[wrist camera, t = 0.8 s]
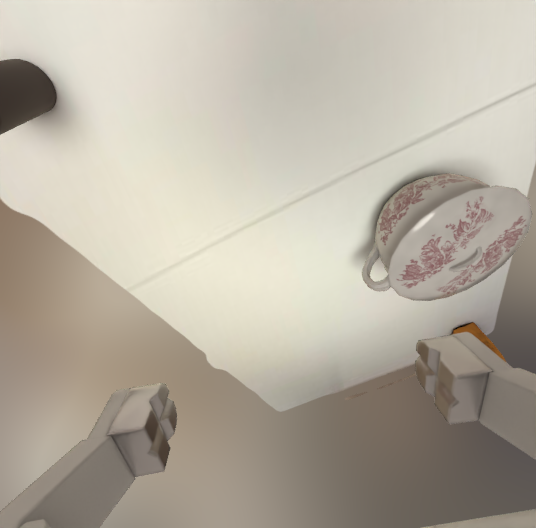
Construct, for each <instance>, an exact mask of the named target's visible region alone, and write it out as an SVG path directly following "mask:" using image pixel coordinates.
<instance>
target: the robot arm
mask: <svg viewBox="0 0 536 528" xmlns="http://www.w3.org/2000/svg"><path fill="white" fill-rule="evenodd" d="M416 351H417V352H418V353H419V355H420V356H419V357H418V359H417V360H416V361H415V371H416V375H417V379H418V381H419V382H420V385H421V386H422V388H423V389H424V391H425V392H426V393H428V394H430V395H432V396H434V397H435V403H434V404H435V406H436V407H437V409H438V410H439V411H440V413H441V414H442V415H443V417H444V418H445V420H446V421H447V422H448V424H455V423H463V422H469V421H478V420H479V422H480V423H481V424H483V425H484V426H486V427H487V428H489V429H490V430H492V431H493V432H495V433H496V434H498V435H499V436H501V437H502V438H504V439H505V440H507V441H509V442H510V443H511V444H513V445H515V446H516V447H517V448H519V449H520V450H522V451H523V452H525V453H526V454H528V455H529V456H531V457H532V458H534V459H536V374H533V373H531V372H528V371H526V370H523V369H520V368H515V369H513V368H512V367H511V366H510V365H509V364H507V363H506V362H505V361H504V360H503V359H501V358H500V357H499V356H498V355H497V354H495V353H494V352H493V351H492V350H491V349H489V348H488V347H487V346H486V345H485V344H483V343H482V342H481V341H480V340H479V339H477V338H476V337H475V336H474V335H473V334H471V333H469V332H463V333H457V334H452V335H447V336H441V337H435V338H430V339H424V340H419V341H418V343H417V346H416ZM168 394H169V390H168V388H167V385H166V384H163V383H160V384H153V385H147V386H139V387H133V388H128V389H120V390H116V391H115V392H114V393H113V394H112V395H111V397H110V399H109V401H108V403H107V404H106V406H105V408H104V410H103V411H102V413H101V415H100V417H99V419H98V420H97V422H96V424H95V426H94V428H93V429H92V431H91V433H90V435H89V436H88V438H87V440H82V441H80V442H79V443H78V444H77V445H76V446H75V447H73V448H72V449H71V450H70V451H69V452H68V453H67V454H65V455H64V456H63V457H62V458H61V459H60V460H59V461H57V462H56V463H55V464H54V465H53V466H52V467H50V468H49V469H48V470H47V471H46V472H45V473H44V474H42V475H41V476H40V477H39V478H38V479H37V480H36V481H34V482H33V483H32V484H31V485H30V486H29V487H28V488H26V490H24V491H23V492H22V493H21V494H19V495H18V496H17V497H16V498H15V499H14V500H13V501H11V502H10V503H9V504H8V505H7V506H6V507H5V508H3V509H2V510H1V511H0V528H99V527H100V526H101V525H102V523H103V522H104V520H105V519H106V518H107V517H108V515H109V514H110V512H111V511H112V510H113V508H114V507H115V506H116V504H117V503H118V502H119V500H120V499H121V498H122V496H123V495H124V494H125V492H126V491H127V490H128V488H129V487H130V485H131V484H132V483H133V481H134V480H135V477H138V476H143V475H148V474H153V473H158V472H163V471H164V470H165V466H166V463H167V459H168V455H169V451H170V446H169V444H168V440H169V439H170V438H171V437H172V435H173V434H174V432H175V428H176V422H177V413H176V407H175V404H174V402H173V401H172V400H170V399H169V398H167V397H168ZM423 528H536V509H533V510H527V511H521V512H515V513H509V514H503V515H496V516H491V517H484V518H478V519H472V520H466V521H460V522H453V523H447V524H441V525H435V526H429V527H423Z"/></svg>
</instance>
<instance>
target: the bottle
mask: <svg viewBox="0 0 536 528" xmlns="http://www.w3.org/2000/svg"><path fill="white" fill-rule="evenodd" d="M55 101H56V94H55V89H54V87H53V85H52V83H51V81H50V80H49V78H48V77H47V76H46V74H45V73H44V72H42V71H41V70H40V69H39V68H38V67H36V66H35V65H33V64H31V63H29V62H27V61H23V60H20V59H11V60H4V61H0V134H3V133H5V132H7V131H9V130H11V129H13V128H15V127H17V126H19V125H21V124H23V123H25V122H27V121H29V120H31V119H33V118H35V117H37V116H39V115H41V114H43V113H45V112H48V111H50V110H51V109H52V108H53V106H54V105H55Z"/></svg>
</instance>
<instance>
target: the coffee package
mask: <svg viewBox="0 0 536 528" xmlns="http://www.w3.org/2000/svg"><path fill="white" fill-rule="evenodd" d="M463 332H469V333H471V334H473V335H474V336H475V337H476V338H477V339H479V340H480V341H481V342H482V343H483V344H485V345H486V346H487V347H488V348H489V349H491V350H492V351H493V352H494V353H495V354H497V355H498V356H499V357H500V358H501V359H503V360H504V361H505V359H504V357H503V356H502V354H501V353H500V352H499V351H498V349H497V348H496V347H495V345H494V344H493V343H492V342H491V341H490V340H489V339H488V338H487V337H486V335H485V334H484V333H483V332H482V331H481V330H480V329H479V328H478V327H477V326H476V325H475V323H470V324H468V325H466V326H464V327H460V328H457V329H456V330H454V331H453V334H457V333H463ZM505 362H506V361H505Z"/></svg>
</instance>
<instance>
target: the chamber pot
mask: <svg viewBox="0 0 536 528" xmlns="http://www.w3.org/2000/svg"><path fill="white" fill-rule="evenodd" d="M531 218H532V211H531V206H530V202H529V199H528V198H527V197H526V196H525V195H523V194H522V193H521V192H520V191H518V190H517V189H515V188H508V187H502V186H492V187H490V186H489V185H487V184H485V183H484V182H482V181H480V180H478V179H474V178H470V177H466V176H462V175H456V174H449V173H446V174H441V175H436V176H430V177H425V178H421V179H418V180H415V181H413V182H411V183H409V184H407V185H405V186H404V187H402V188H401V189H400V190H399V191H397V192H396V193H395V194H393V196H392V197H391V198H390V199H389V200H388V202H387V203H386V204H385V205H384V207H383V209H382V211H381V213H380V215H379V217H378V223H377V229H376V235H375V243H374V246H373V249H372V251H371V253H370V255H369V256H368V258H367V259H366V261H365V264H364V267H363V270H362V277H363V280H364V282H365V283H366V284H367V286H368V287H369V288H371V289H373V290H375V291H387V290H388V289H389V288H390V287H392V288H393V289H394V290H395V291H396V292H397V294H398V295H399V296H402V297H405V298H408V299H411V300H422V301H431V300H436V299H441V298H445V297H449V296H452V295H454V294H457V293H459V292H462V291H465V290H467V289H469V288H470V287H472V286H474V285H476V284H477V283H479V282H481V281H483V280H484V279H486V278H487V277H489V276H490V275H491V274H492V273H494V272H495V271H496V270H497V269H499V268H500V267H501V266H503V265H504V264H505V262H506V261H507V260H508V259H509V258H510V257H511V256H512V255H513V254H514V253H515V252H516V250H517V249H518V248H519V246H520V245H521V243H522V241H523V240H524V238H525V236H526V235H527V233H528V230H529V226H530V222H531ZM379 256H380V258H381V261H382V262H383V264H384V265H385V267H384V268H385V270H386V271H387V273H388V276H387V277H386V278H385V279H383V280H381V281H378V282H374V281H373V280H372V279H371V278H370V272H371V269H372V266H373V264H374V263H375V262H376V260H377V259H378V258H379Z"/></svg>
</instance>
